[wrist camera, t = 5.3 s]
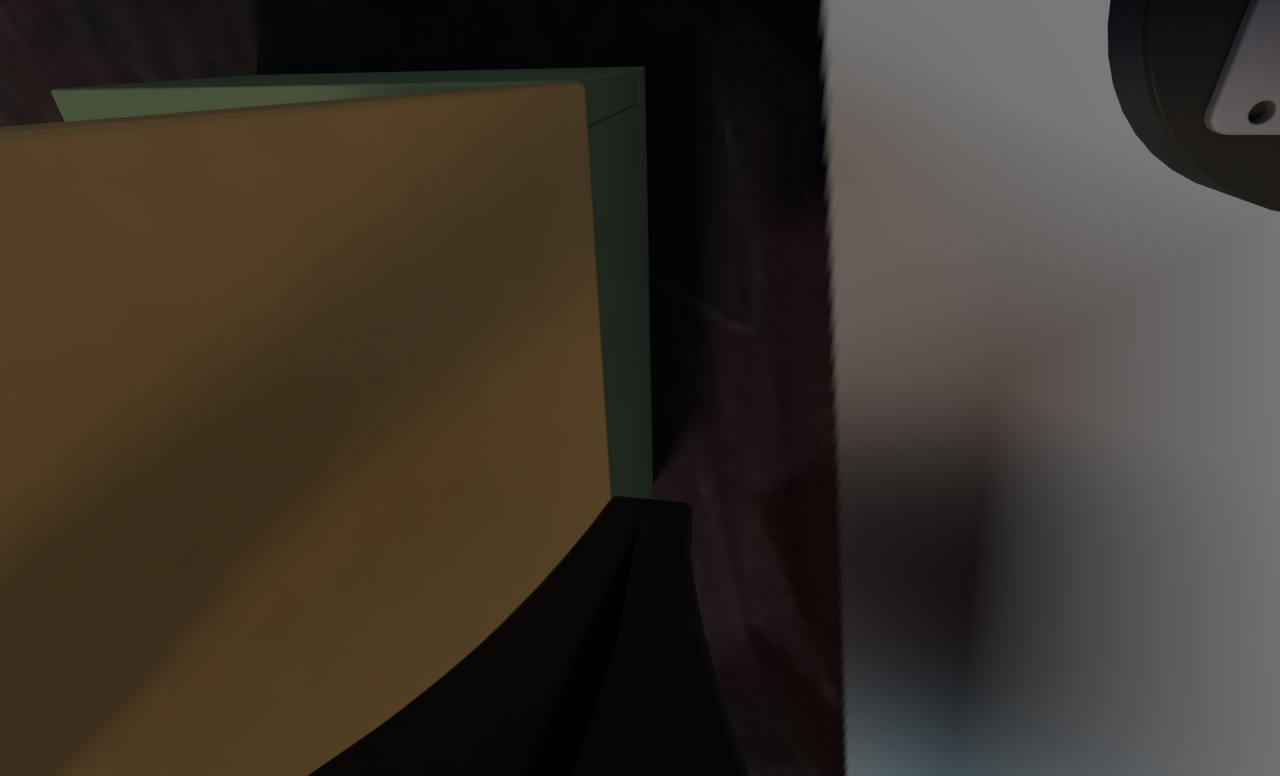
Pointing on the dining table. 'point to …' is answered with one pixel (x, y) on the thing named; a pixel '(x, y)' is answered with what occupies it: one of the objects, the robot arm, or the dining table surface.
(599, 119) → the green open cubby
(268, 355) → the yellow box lid
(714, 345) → the dining table surface
